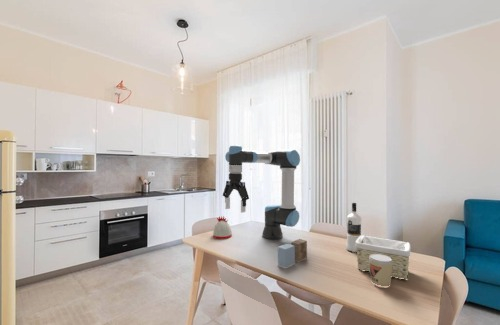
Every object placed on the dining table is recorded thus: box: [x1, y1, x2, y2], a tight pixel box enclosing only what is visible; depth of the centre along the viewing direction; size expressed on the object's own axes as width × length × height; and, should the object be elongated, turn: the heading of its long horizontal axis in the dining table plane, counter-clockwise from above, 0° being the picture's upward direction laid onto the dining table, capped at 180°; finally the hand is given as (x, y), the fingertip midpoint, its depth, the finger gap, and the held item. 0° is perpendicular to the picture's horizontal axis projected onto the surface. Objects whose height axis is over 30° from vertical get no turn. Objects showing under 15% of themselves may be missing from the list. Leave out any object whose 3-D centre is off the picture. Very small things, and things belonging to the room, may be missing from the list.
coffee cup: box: [369, 254, 393, 286], centre depth 108 cm, size 9×9×12 cm
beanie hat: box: [212, 215, 233, 240], centre depth 178 cm, size 14×14×15 cm
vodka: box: [345, 202, 362, 253], centre depth 151 cm, size 9×9×30 cm
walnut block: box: [290, 238, 308, 263], centre depth 136 cm, size 8×5×10 cm, turn 134°
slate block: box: [277, 243, 296, 269], centre depth 128 cm, size 8×5×10 cm, turn 134°
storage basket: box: [355, 234, 412, 281], centre depth 122 cm, size 24×16×15 cm
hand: (235, 210), depth 135 cm, fingers open, 13 cm apart
